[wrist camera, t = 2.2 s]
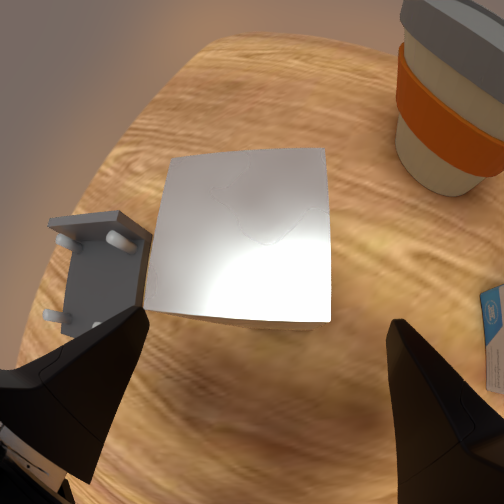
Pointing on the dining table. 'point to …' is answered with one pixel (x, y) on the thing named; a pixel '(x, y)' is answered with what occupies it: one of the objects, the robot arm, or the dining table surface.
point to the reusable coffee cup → (450, 94)
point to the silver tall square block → (244, 240)
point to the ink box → (494, 337)
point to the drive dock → (100, 268)
